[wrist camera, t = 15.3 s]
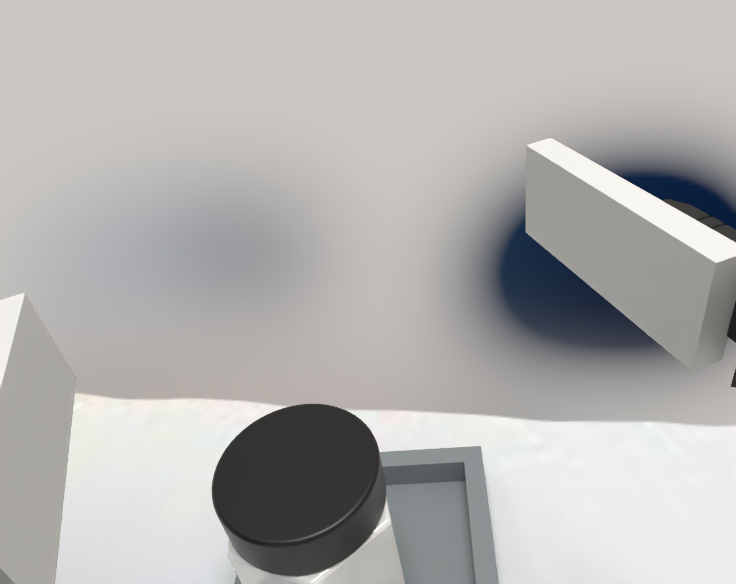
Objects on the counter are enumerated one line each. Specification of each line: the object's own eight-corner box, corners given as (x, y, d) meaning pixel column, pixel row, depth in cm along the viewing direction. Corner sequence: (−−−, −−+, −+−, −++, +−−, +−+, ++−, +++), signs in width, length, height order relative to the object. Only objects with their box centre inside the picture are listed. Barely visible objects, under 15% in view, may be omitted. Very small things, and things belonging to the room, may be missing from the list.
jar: (357, 503, 40) (322, 374, 33) (443, 592, 35) (422, 459, 28) (241, 594, 36) (174, 469, 29) (316, 711, 31) (254, 591, 24)
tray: (221, 726, 31) (206, 706, 30) (272, 482, 43) (263, 459, 42) (514, 725, 29) (514, 704, 28) (482, 470, 41) (480, 446, 40)
